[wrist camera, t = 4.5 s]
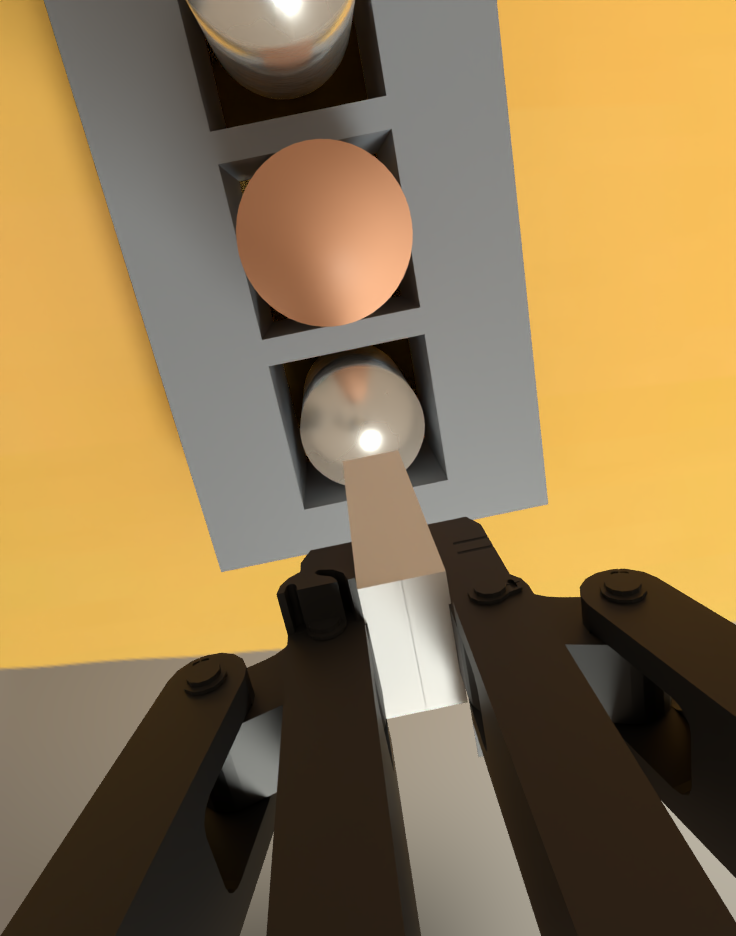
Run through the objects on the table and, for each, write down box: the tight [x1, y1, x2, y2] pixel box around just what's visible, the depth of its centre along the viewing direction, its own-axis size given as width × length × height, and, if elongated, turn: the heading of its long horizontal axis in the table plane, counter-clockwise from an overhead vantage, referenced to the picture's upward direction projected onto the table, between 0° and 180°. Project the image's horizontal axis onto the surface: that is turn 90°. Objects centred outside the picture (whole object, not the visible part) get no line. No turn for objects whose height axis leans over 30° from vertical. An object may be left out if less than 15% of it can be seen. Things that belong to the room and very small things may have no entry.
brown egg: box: [236, 139, 413, 327], centre depth 20 cm, size 5×5×6 cm
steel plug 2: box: [300, 345, 425, 485], centre depth 27 cm, size 5×5×6 cm
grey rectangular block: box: [44, 0, 548, 572], centre depth 25 cm, size 14×24×6 cm, turn 11°
